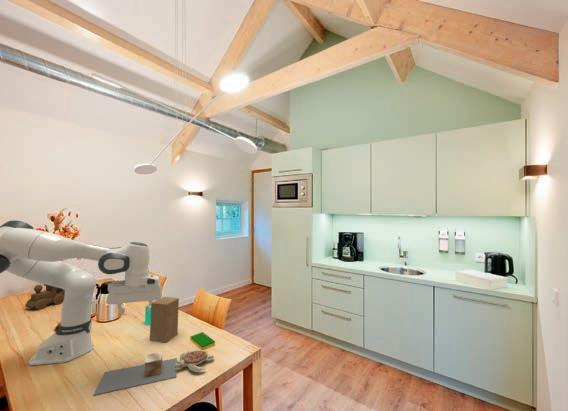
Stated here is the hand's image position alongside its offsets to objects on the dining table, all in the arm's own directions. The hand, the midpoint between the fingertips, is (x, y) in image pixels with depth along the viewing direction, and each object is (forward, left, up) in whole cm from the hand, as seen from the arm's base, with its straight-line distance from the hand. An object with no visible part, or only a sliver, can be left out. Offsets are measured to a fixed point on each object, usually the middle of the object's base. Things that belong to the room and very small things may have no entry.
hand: (135, 311), depth 106 cm
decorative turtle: (+24, -5, -25) cm, 35 cm away
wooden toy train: (-70, +105, -25) cm, 129 cm away
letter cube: (+8, -5, -18) cm, 21 cm away
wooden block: (+11, +26, -25) cm, 37 cm away
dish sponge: (+30, +13, -25) cm, 41 cm away
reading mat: (+3, -5, -25) cm, 25 cm away
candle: (+2, +48, -25) cm, 54 cm away
